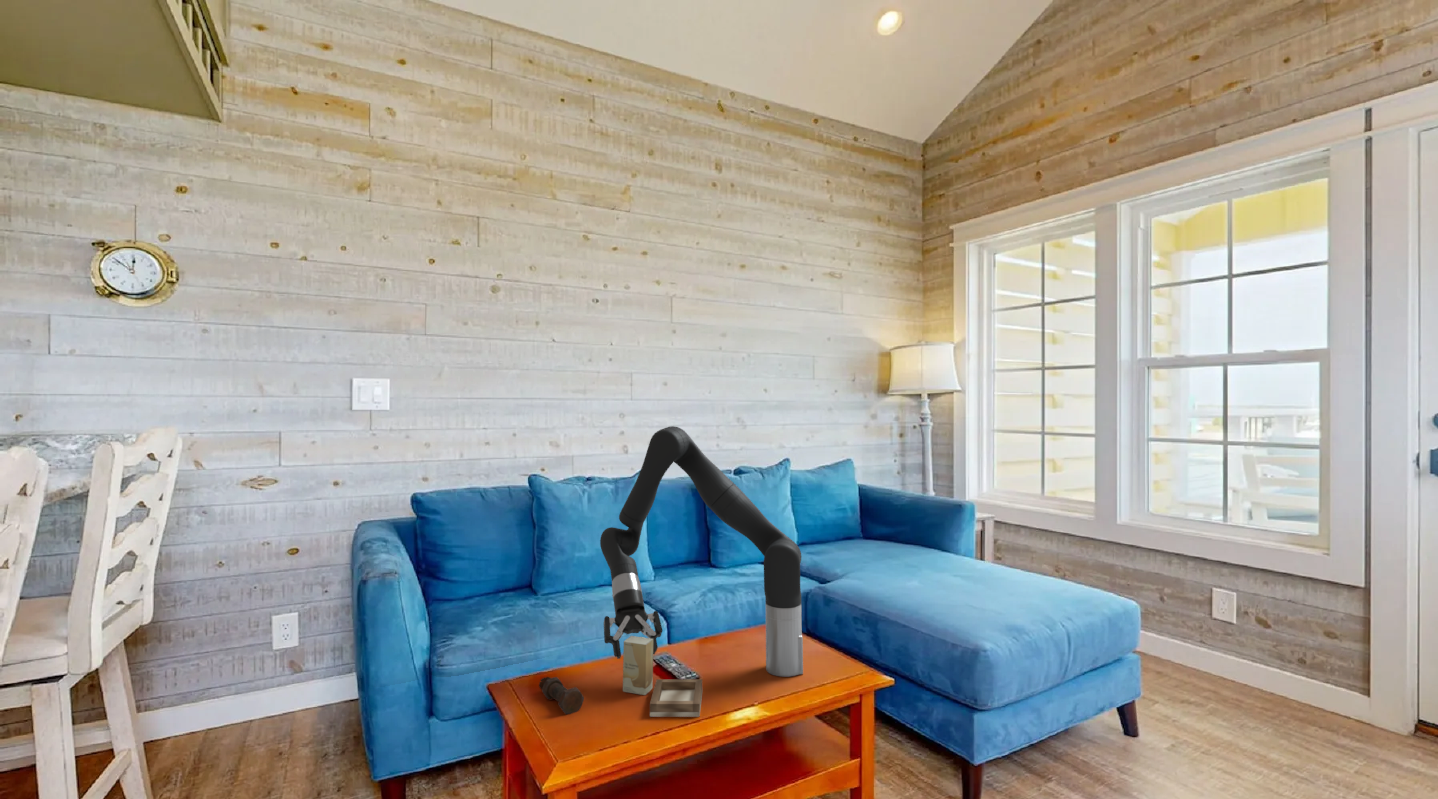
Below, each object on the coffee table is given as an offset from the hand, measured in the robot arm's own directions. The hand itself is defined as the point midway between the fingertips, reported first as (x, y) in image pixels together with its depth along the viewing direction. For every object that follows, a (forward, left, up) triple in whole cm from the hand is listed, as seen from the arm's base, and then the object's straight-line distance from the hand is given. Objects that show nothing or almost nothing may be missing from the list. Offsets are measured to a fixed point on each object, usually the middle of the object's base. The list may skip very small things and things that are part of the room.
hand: (636, 655), depth 161 cm
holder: (-11, +8, -8) cm, 16 cm away
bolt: (+17, +7, -8) cm, 20 cm away
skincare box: (-1, +1, -8) cm, 8 cm away
